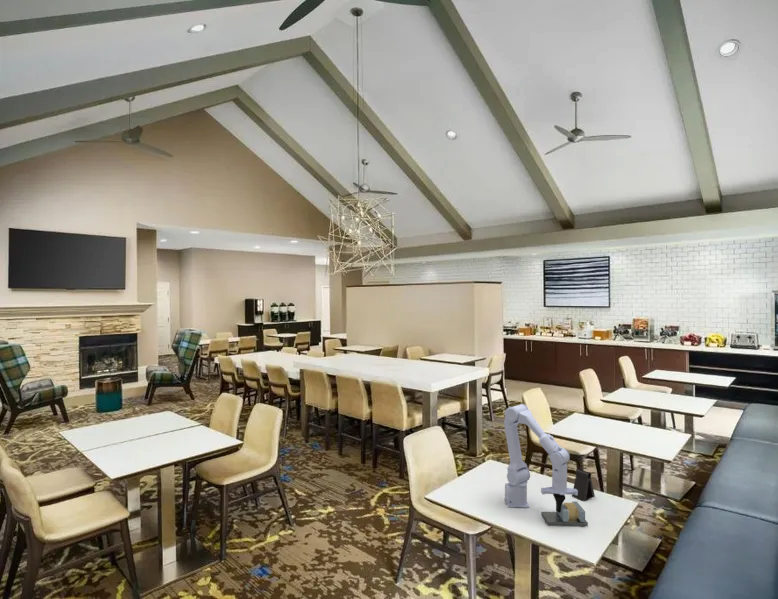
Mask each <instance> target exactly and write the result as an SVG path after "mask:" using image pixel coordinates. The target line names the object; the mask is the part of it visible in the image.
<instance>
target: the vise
mask: <svg viewBox="0 0 778 599" xmlns="http://www.w3.org/2000/svg"><path fill="white" fill-rule="evenodd" d="M571 503H574V504H575V506H576V507H577V520H568V522H563V520H562V519H561V517H560V516H559V515H558V513H557V512H556V511H541V512H540V516H541V517H542V519H543V521H544V522H545V523H546V525H547V527H588V525H589V523H588V521H587V519H586V511H585V510H584V508H583V507H582V506H581V505H580V504H579V502H578V501H572V502H571Z"/></svg>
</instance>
